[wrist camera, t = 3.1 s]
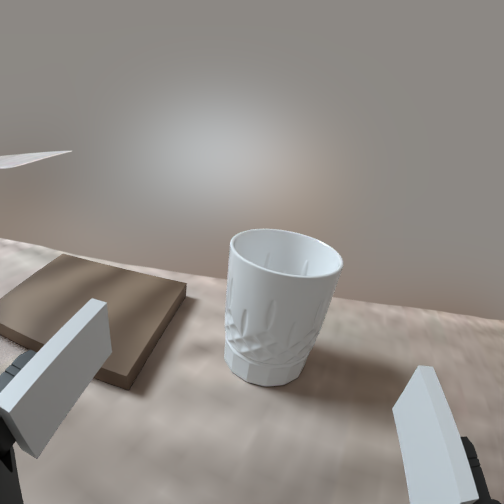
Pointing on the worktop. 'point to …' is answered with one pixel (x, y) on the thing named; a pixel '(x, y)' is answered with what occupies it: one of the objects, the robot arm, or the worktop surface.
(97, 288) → the board
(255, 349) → the white cup
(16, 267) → the worktop surface
